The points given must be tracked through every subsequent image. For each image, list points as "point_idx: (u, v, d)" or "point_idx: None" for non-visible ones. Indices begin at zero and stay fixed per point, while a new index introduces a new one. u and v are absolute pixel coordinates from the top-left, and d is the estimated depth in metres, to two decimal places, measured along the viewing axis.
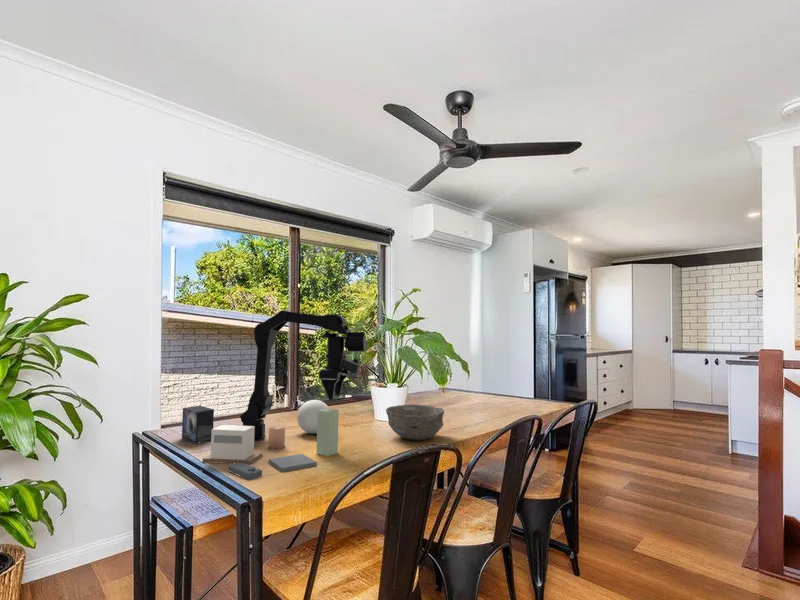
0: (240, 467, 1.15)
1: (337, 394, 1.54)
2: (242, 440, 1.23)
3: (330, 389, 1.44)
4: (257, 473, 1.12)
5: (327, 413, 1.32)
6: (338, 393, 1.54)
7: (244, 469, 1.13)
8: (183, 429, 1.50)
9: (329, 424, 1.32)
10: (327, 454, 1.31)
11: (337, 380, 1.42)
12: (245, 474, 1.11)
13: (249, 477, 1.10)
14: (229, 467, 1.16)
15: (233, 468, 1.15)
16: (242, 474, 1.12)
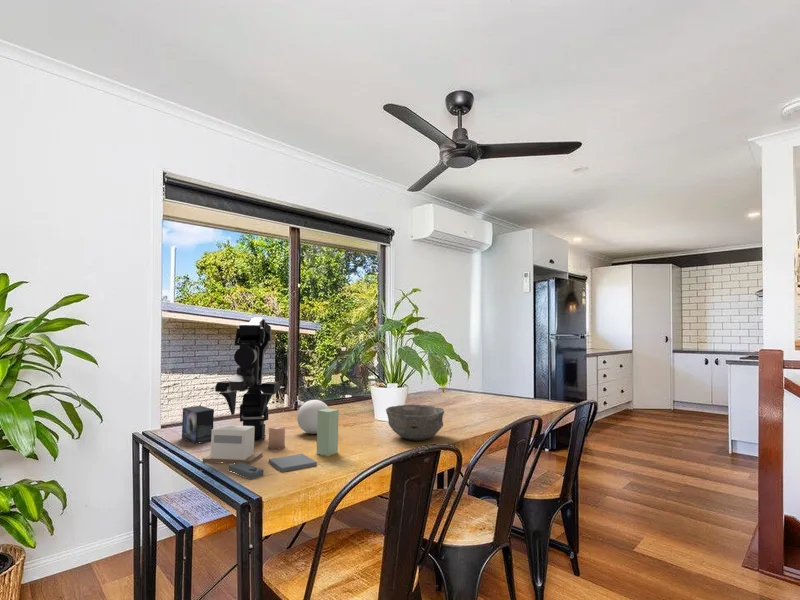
0: (241, 467, 1.15)
1: None
2: (242, 440, 1.23)
3: None
4: (259, 473, 1.12)
5: (327, 413, 1.32)
6: None
7: (245, 469, 1.13)
8: (183, 429, 1.50)
9: (329, 424, 1.32)
10: (327, 454, 1.31)
11: (219, 393, 1.34)
12: (246, 473, 1.11)
13: (251, 477, 1.10)
14: (230, 467, 1.16)
15: (234, 468, 1.15)
16: (243, 474, 1.12)
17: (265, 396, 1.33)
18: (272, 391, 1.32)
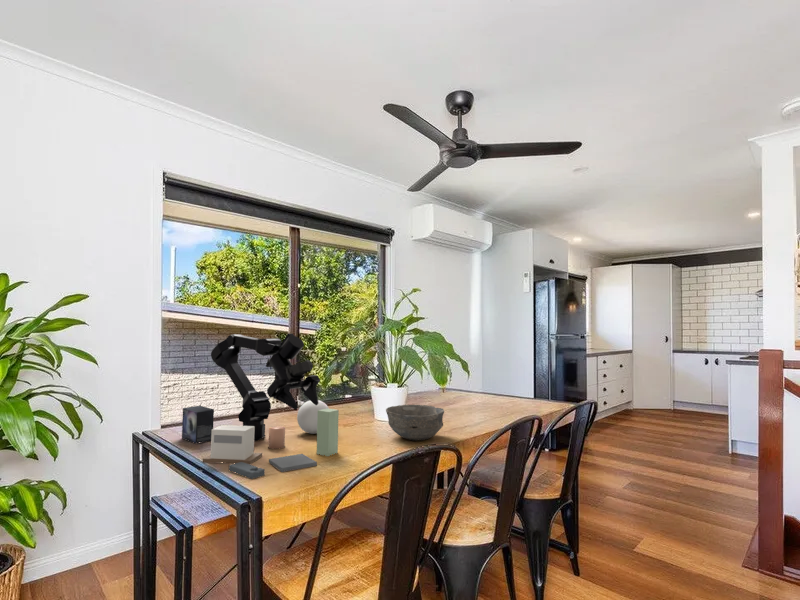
0: (242, 467, 1.15)
1: (316, 403, 1.43)
2: (242, 440, 1.23)
3: (288, 399, 1.35)
4: (260, 472, 1.12)
5: (327, 413, 1.32)
6: (316, 402, 1.43)
7: (246, 468, 1.13)
8: (183, 429, 1.50)
9: (329, 424, 1.32)
10: (327, 454, 1.31)
11: (283, 386, 1.34)
12: (248, 473, 1.11)
13: (252, 476, 1.11)
14: (230, 467, 1.16)
15: (235, 468, 1.15)
16: (245, 473, 1.12)
17: (316, 384, 1.46)
18: None
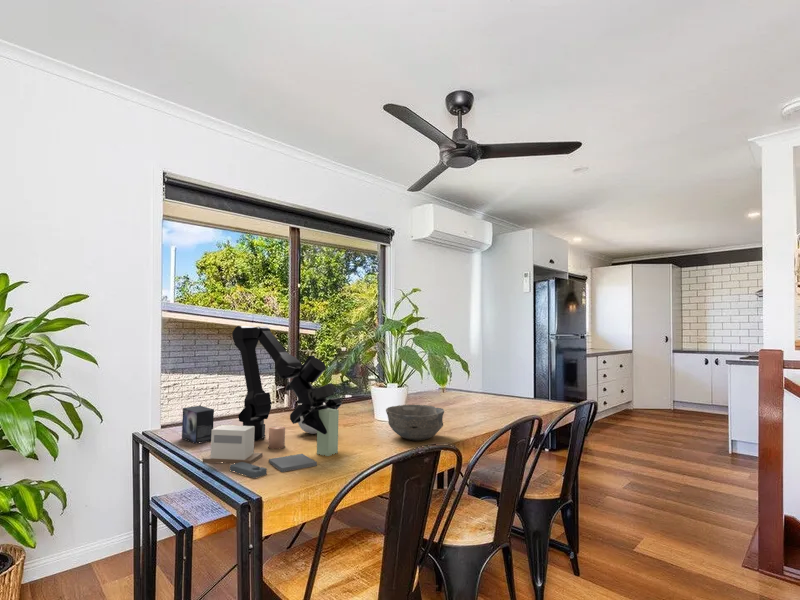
0: (243, 466, 1.15)
1: None
2: (242, 440, 1.23)
3: (317, 424, 1.32)
4: (262, 471, 1.13)
5: (327, 413, 1.32)
6: None
7: (248, 468, 1.14)
8: (183, 429, 1.49)
9: (329, 424, 1.32)
10: (327, 454, 1.31)
11: (312, 411, 1.31)
12: (250, 472, 1.12)
13: (255, 476, 1.11)
14: (231, 467, 1.16)
15: (236, 467, 1.15)
16: (247, 473, 1.13)
17: (334, 408, 1.40)
18: None
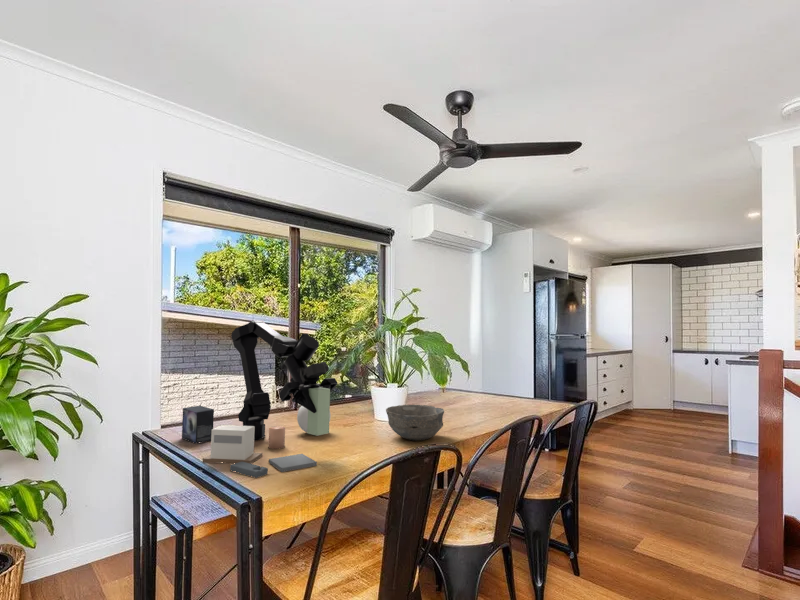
0: (244, 466, 1.16)
1: None
2: (242, 440, 1.23)
3: (307, 403, 1.29)
4: (263, 471, 1.13)
5: (317, 391, 1.29)
6: None
7: (249, 468, 1.14)
8: (183, 429, 1.49)
9: (319, 403, 1.28)
10: (316, 433, 1.28)
11: (301, 389, 1.28)
12: (251, 472, 1.12)
13: (256, 475, 1.11)
14: (232, 466, 1.16)
15: (237, 467, 1.15)
16: (248, 473, 1.13)
17: (327, 387, 1.36)
18: (336, 381, 1.40)
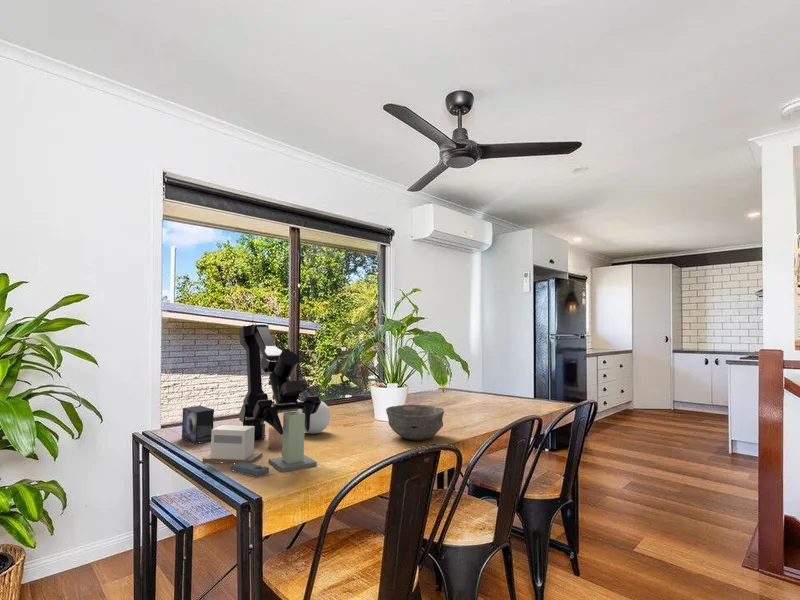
0: (245, 466, 1.16)
1: (307, 429, 1.25)
2: (242, 440, 1.23)
3: (275, 423, 1.22)
4: (265, 470, 1.14)
5: (288, 416, 1.21)
6: (307, 427, 1.25)
7: (250, 467, 1.14)
8: (183, 429, 1.49)
9: (290, 429, 1.21)
10: (287, 461, 1.20)
11: (268, 408, 1.21)
12: (253, 472, 1.12)
13: (258, 475, 1.12)
14: (233, 466, 1.16)
15: (238, 467, 1.15)
16: (249, 472, 1.13)
17: (311, 406, 1.29)
18: (320, 400, 1.31)
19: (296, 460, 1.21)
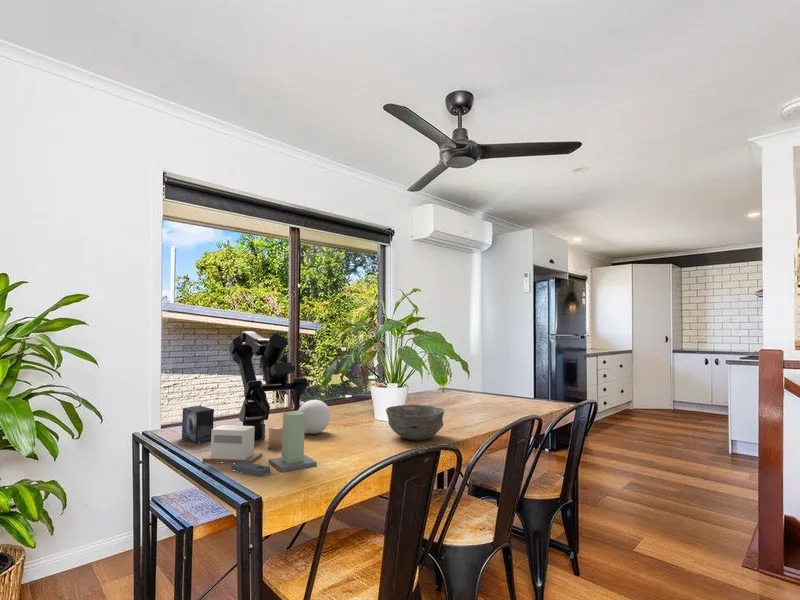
0: (246, 465, 1.16)
1: (297, 408, 1.34)
2: (242, 440, 1.23)
3: (261, 402, 1.29)
4: (266, 470, 1.14)
5: (288, 416, 1.21)
6: (297, 406, 1.34)
7: (251, 467, 1.15)
8: (183, 429, 1.49)
9: (290, 429, 1.21)
10: (287, 461, 1.20)
11: (255, 388, 1.29)
12: (255, 471, 1.13)
13: (260, 474, 1.12)
14: (233, 466, 1.16)
15: (239, 467, 1.16)
16: (251, 472, 1.13)
17: (301, 387, 1.37)
18: (307, 381, 1.39)
19: (296, 460, 1.21)
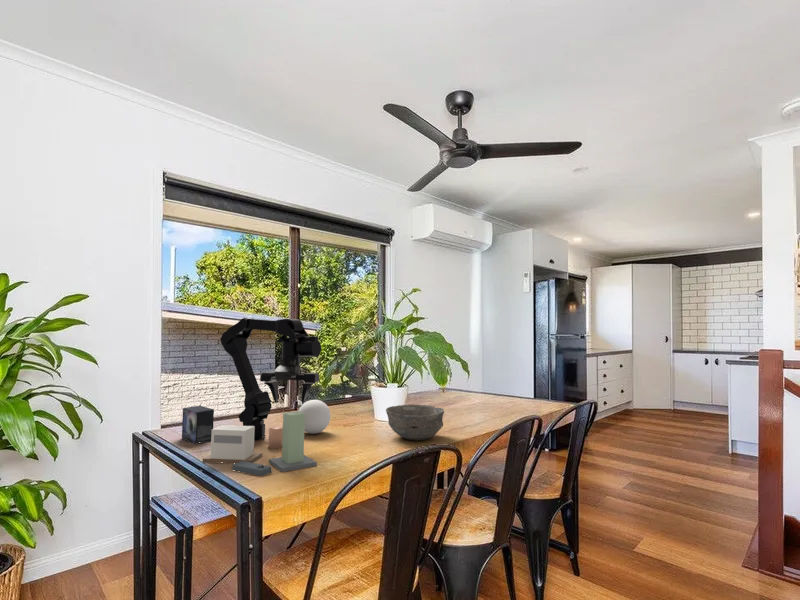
0: (247, 465, 1.16)
1: None
2: (242, 440, 1.23)
3: None
4: (268, 469, 1.15)
5: (288, 416, 1.21)
6: None
7: (253, 467, 1.15)
8: (183, 429, 1.49)
9: (290, 429, 1.21)
10: (287, 461, 1.20)
11: (264, 383, 1.45)
12: (256, 471, 1.13)
13: (262, 474, 1.13)
14: (234, 466, 1.17)
15: (240, 467, 1.16)
16: (252, 471, 1.14)
17: (307, 385, 1.44)
18: (313, 381, 1.43)
19: (296, 460, 1.21)
